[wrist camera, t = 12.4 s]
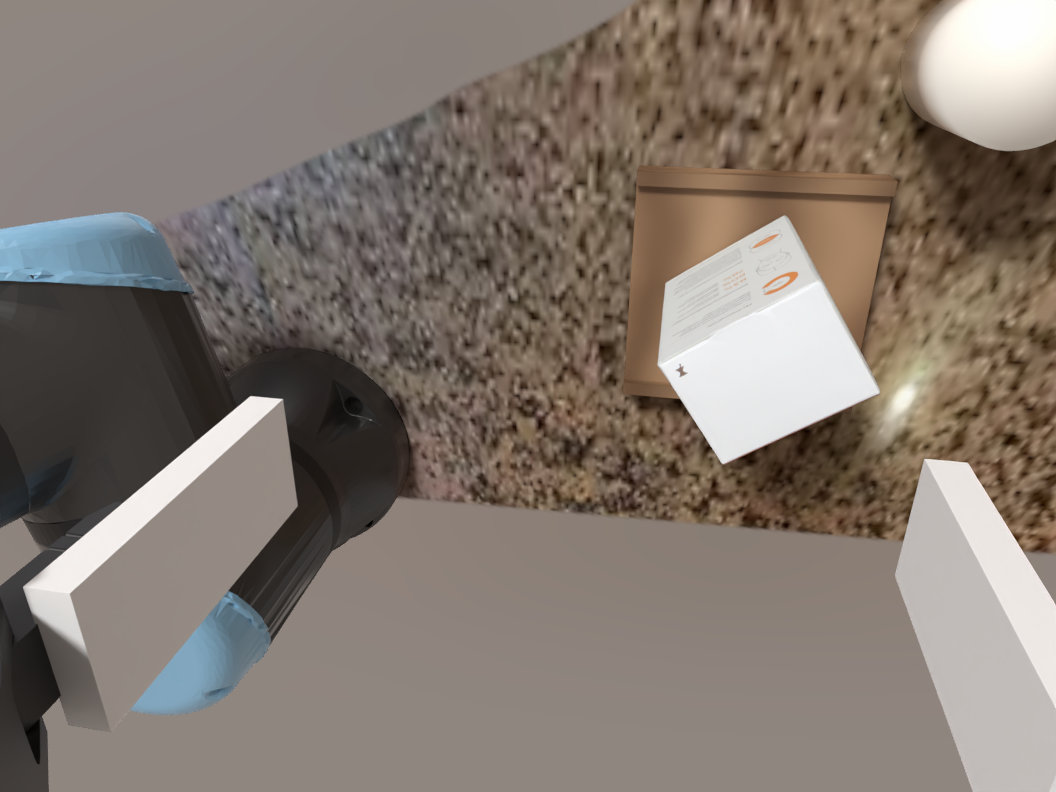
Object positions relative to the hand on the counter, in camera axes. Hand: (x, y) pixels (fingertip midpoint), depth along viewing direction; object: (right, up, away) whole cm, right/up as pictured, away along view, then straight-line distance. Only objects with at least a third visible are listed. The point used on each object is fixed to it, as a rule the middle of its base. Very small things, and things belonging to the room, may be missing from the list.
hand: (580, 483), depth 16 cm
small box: (+12, +8, +31) cm, 34 cm away
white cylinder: (+22, +21, +25) cm, 39 cm away
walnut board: (+12, +9, +32) cm, 36 cm away
